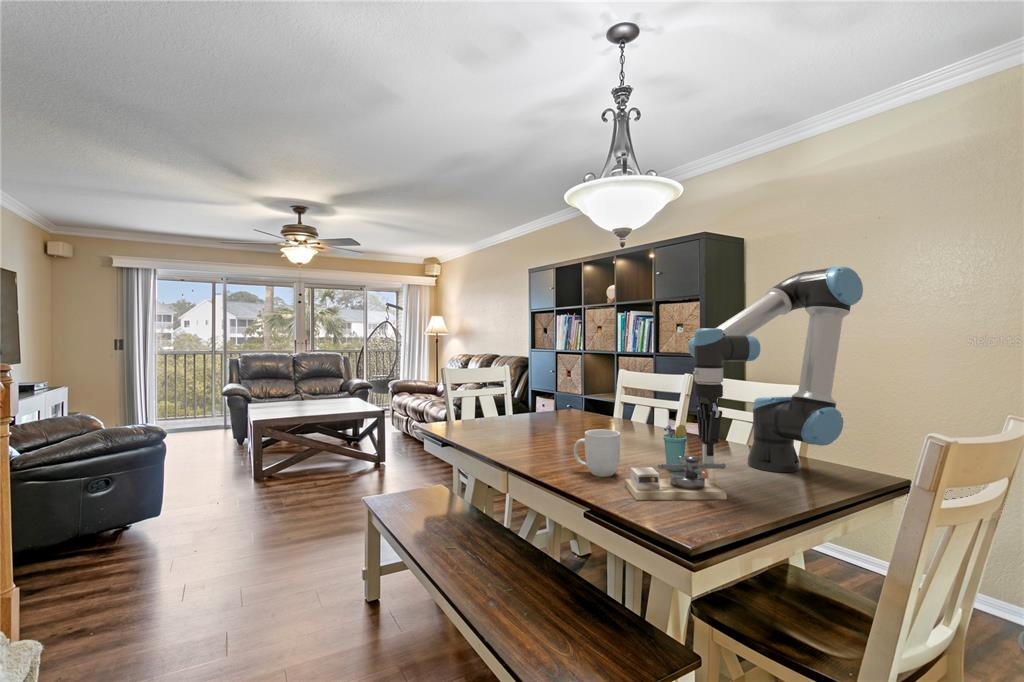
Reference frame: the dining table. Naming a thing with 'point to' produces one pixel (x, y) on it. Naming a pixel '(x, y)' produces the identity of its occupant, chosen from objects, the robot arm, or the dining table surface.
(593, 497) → the dining table surface
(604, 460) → the mug
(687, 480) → the capstan
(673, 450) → the teal pot with plants
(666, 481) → the stand
